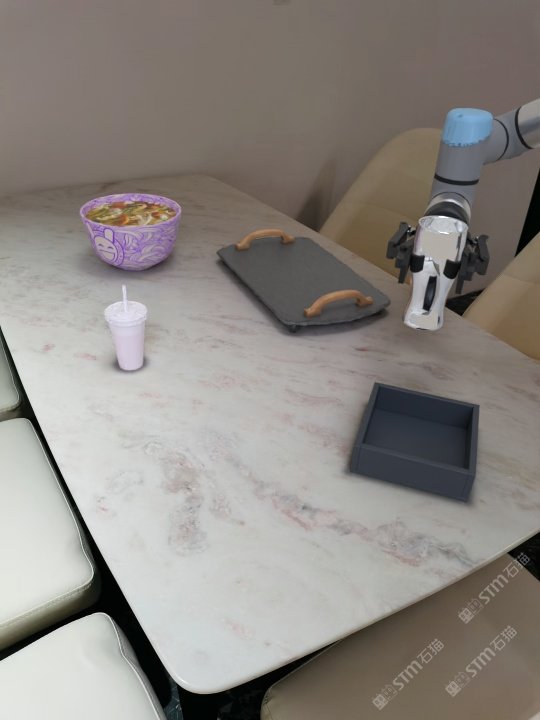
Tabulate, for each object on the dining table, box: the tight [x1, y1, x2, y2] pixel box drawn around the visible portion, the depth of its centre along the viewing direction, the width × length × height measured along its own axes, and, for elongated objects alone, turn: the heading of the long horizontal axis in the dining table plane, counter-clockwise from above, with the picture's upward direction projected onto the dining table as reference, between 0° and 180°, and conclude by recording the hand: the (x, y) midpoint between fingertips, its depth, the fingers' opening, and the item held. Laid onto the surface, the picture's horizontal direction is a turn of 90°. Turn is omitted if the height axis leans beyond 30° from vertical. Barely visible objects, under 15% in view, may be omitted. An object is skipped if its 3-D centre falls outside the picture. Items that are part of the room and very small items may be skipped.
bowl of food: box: [78, 193, 182, 272], centre depth 123 cm, size 20×20×12 cm
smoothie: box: [103, 284, 149, 371], centre depth 90 cm, size 6×6×14 cm
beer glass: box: [401, 216, 469, 332], centre depth 84 cm, size 7×7×15 cm
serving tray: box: [216, 228, 392, 334], centre depth 118 cm, size 39×23×6 cm, turn 26°
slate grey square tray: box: [349, 381, 481, 503], centre depth 79 cm, size 15×15×5 cm
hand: (430, 279), depth 79 cm, fingers closed on beer glass, 7 cm apart
